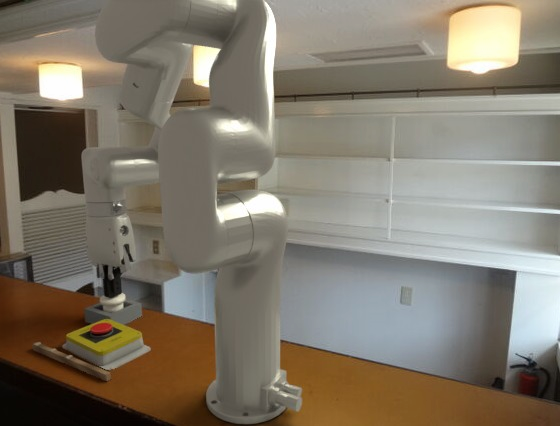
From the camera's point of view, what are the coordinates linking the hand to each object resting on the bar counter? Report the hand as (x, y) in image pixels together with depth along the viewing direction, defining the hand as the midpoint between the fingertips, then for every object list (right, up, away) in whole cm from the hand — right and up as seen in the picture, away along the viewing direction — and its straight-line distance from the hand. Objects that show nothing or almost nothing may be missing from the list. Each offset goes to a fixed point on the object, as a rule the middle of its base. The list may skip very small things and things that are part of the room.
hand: (113, 295), depth 92 cm
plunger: (0, -4, +1) cm, 4 cm away
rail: (-1, -9, -16) cm, 18 cm away
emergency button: (+3, -8, -11) cm, 14 cm away
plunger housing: (0, -5, +1) cm, 6 cm away
